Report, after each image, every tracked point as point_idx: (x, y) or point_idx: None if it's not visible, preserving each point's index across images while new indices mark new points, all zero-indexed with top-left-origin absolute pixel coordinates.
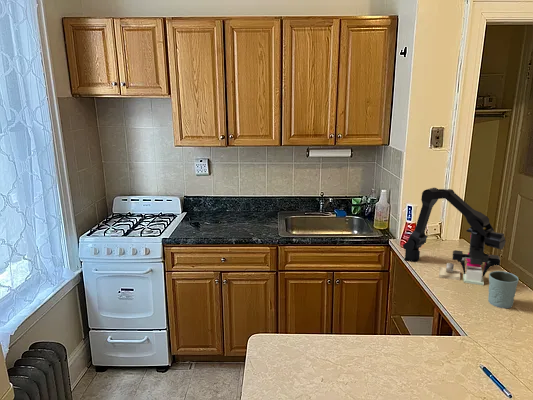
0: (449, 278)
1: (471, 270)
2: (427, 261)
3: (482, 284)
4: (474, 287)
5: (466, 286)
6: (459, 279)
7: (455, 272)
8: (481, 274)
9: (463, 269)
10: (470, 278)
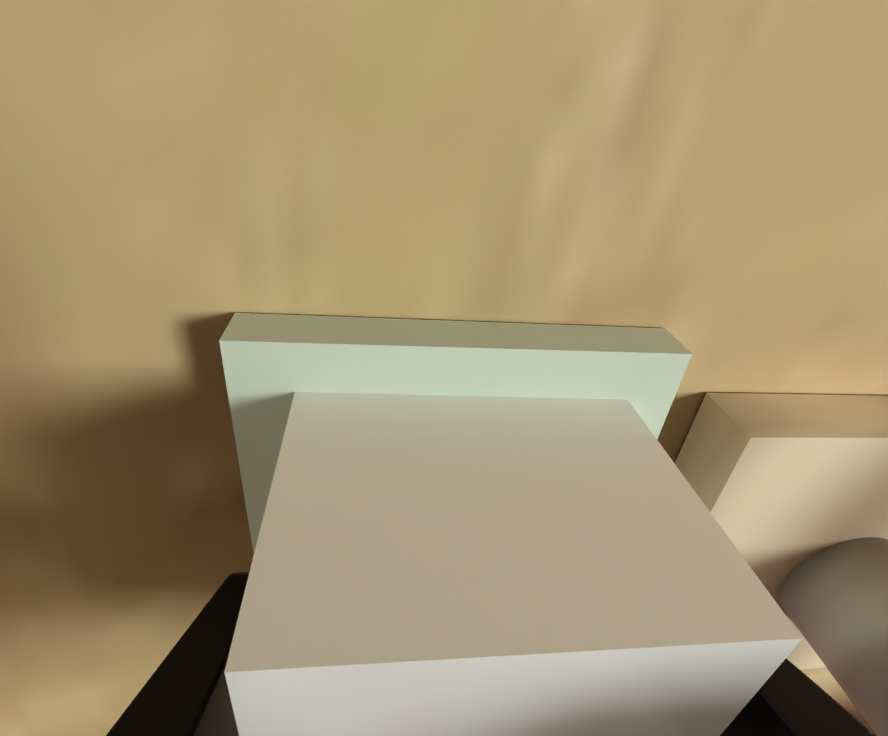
0: (886, 401)
1: (626, 689)
2: (862, 722)
3: (262, 322)
4: (476, 99)
5: (680, 102)
6: (727, 405)
7: None
8: (264, 586)
9: (791, 675)
10: (555, 431)
